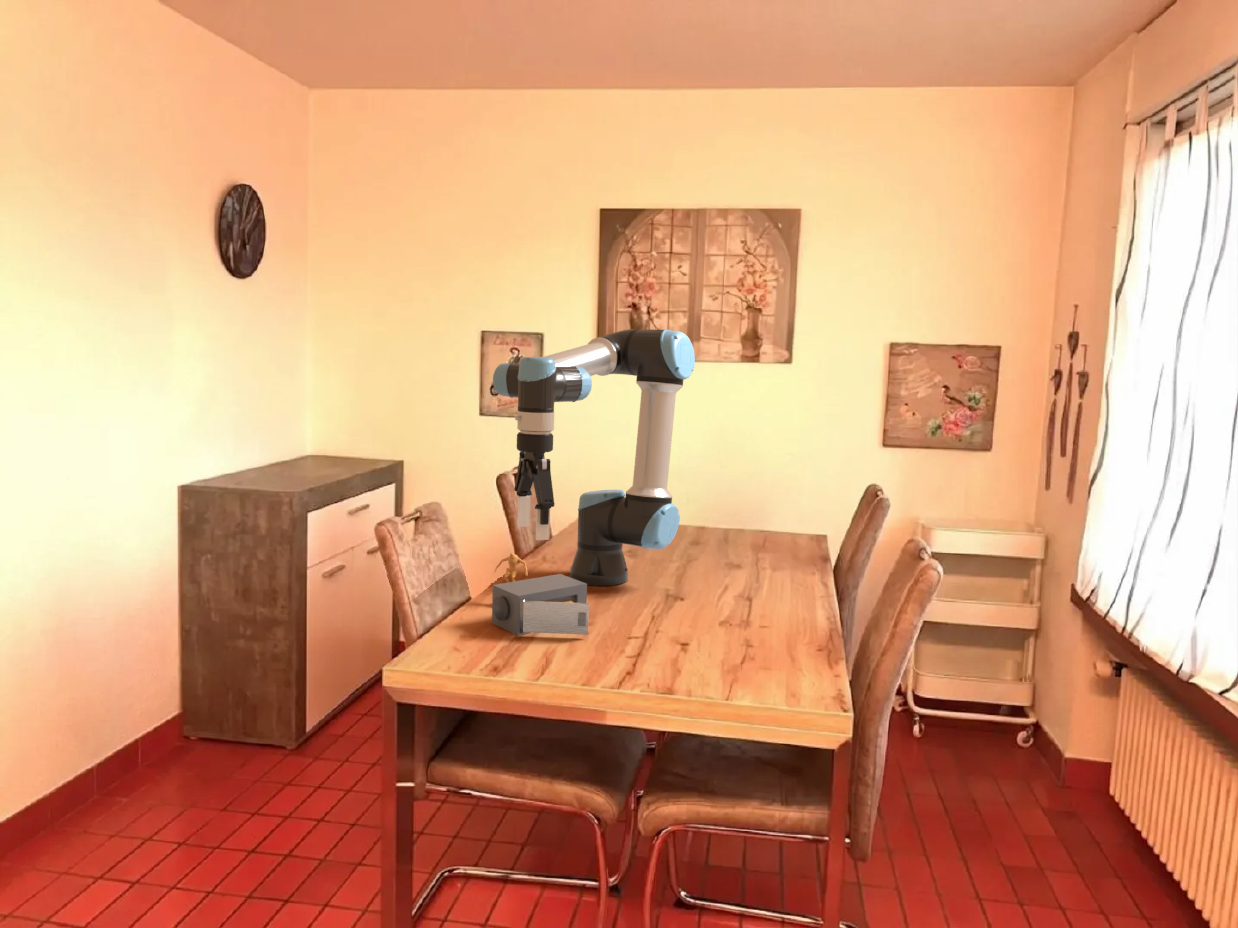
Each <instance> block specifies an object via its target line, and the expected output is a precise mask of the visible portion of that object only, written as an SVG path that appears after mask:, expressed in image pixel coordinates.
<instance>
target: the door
mask: <svg viewBox="0 0 1238 928" xmlns="http://www.w3.org/2000/svg"><path fill="white" fill-rule="evenodd" d="M589 608H590V603H589V602H586V603H571V602H544V601H525V599H520V622H519V633H520V634H522V635H524V634H523V633H524V632H532V633H533V634H534V633H535V634H536V633H537V634H538V633H539V634H562V635H563V634H564V635H565V634H566V635H589V617H590V616H589V615H590V614H589V613H590V612H589V610H590V609H589Z"/></svg>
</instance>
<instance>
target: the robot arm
mask: <svg viewBox="0 0 1238 928" xmlns="http://www.w3.org/2000/svg"><path fill="white" fill-rule="evenodd" d="M695 357H696V355H695V350H694V345H693V343H692V341H691V339H690V338H689V337H688V335H687V334H685V333H684V332H682V331H678V330H672V329H638V328H632V329H631V328H630V329H624V330H619V331H616V332H612V333H609V334H608V333H607V334H605V335H602V336H598V337H595V338H592V339H591V340H589V342H588V343H587V344H585V345H581V346H577V347H574V348H570V349H566V350H564V351H563V350H562V351H560V352H556V353H552V354H549V355H545V356H523V357H521V358H520V360H519V362H517V363H515V362H508V363H507V362H504V363H501V364H498V366H497V367H496V368H495V370H494V372H493V376H492V383H493V384H492V385H493V388H494V390H495V391H496V394H498V395H500V396H503V397H509V398H510V399H513V398H517V415H515V417H514V418H515V419H514V420H515V421H517V428H516V429H517V430H518V433H517V434H516V450H517V451H519V458H518V459H519V460H518V467H517V471H516V472H517V473H516V478H515V483H514V491H515V492H516V496H517V500H516V501H517V503H516V504H517V507H516V527H517V528H519V527H522V528H523V527H526V528H527V527H530V526H531V503H532V502H531V496H533V493H532V490H531V489H532V487H533V486H534V487H533V488H534V494H535V498H536V502H537V504H535V506H534V509H535V538H534V539H535V540H536V541H548V540H550V528H551V527H550V526H551V525H550V524H551V523H550V522H551V509H552V508H554V507H555V499H554V491H553V490H554V489H553V481H552V473H551V459H550V458H545V453H550V452H552V451H553V450H554V435H553V433H552V432H553V431H554V430H555V403H563V402H565V403H568V402H571V403H576V402H578V401H582V400H584V399H586V398H588V396H589V395H590V393H591V391H592V387H593V386H592V385H593V382H592V376H595V375H597V376H602V377H603V376H604V377H605V376H609V375H626V376H634V377H635V376H636V381H635V382H636V384H637V385H638V388H640V391H641V393H640V394H641V395H640V404H639V414H638V415H639V416H638V424H637V425H638V426H637V437H636V446H635V448H636V449H635V456H634V457H635V458H634V467H633V479H632V485H631V486H630V487H629V488H628V489H627V490H626V491H624V490H623V489H622V490H621V489H604V490H593V491H591V490H590V491H587V492H584V493H582V494H581V495H580V497H579V499H578V509H577V511H578V512H577V514H578V515H577V516H578V517H577V518H578V520H577V522H578V523H577V548H576V549H577V550H576V552H575V555H574V558H573V561H572V564H571V567H570V568H569V569H570V570H569V577H570V578H573V579H575V580H578V581H581V582H584V583H586V584H587V586H600V587H601V586H605V587H606V586H607V587H609V586H616V585H622V584H624V583H626V582H627V581H628V580H629V570H628V566H627V563H626V558H625V554H624V551H623V545H629V546H635V547H640V548H644V549H645V550H649V549H650V550H651V549H652V550H662V549H665V548H667V547H668V546H669V545H670V543H672V542H673V540H674V538H675V537H676V534H677V532H678V529H679V526H680V512H679V511H680V510H679V508H678V506H676V505H675V504H673V503H672V501H673V495H672V493H670V492H669V490H668V482H669V481H668V480H669V472H670V471H669V470H670V459H671V450H672V448H671V447H672V441H673V440H672V436H673V429H674V417H675V408H676V406H675V405H676V398H677V393H678V392H679V391H680V390H681V389H682V388H683V387H684V380H687V379H688V378H690V377H691V376H692V374H693V372H694V369H695V363H696V360H695Z"/></svg>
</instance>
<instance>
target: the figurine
mask: <svg viewBox="0 0 1238 928" xmlns="http://www.w3.org/2000/svg"><path fill="white" fill-rule="evenodd" d="M503 562H504V563H505V562H507V563H508V566H509V567H507V568H506V571H505V574H504V577H503V578H504V580H505V583H508V582H510V579H508V577H509V576H511V582H514V581H516V580H515V578H516V576H517V573H518V568H516V567H517V565H518V562H519V563H520V564H523V566H524V570H525V574H524V575H525V577H528V567H527V563H526V562H525V561H524V559H523V560H522V559H521V558H520V557H519V555H518V554H515V553H513V552H511V553H510V555H509V556H507V557H505V558H503V559H501V560H500V561H499V563H498V564H497V565H496V567H495V570H494V572H496V571H497V569H499V567H500V566H501V564H503Z"/></svg>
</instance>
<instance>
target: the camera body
mask: <svg viewBox="0 0 1238 928" xmlns="http://www.w3.org/2000/svg"><path fill="white" fill-rule="evenodd" d="M587 596H588V585H587V584H586V583H584V582H581V581H578V580H575V579H573V578H570V576H567V575H564V574H562V573H557V574H551V575H545V576H541V577H539V576H538V577H532V578H526V579H521V580H515V581H514V582H512V581H509V582H508V583H507V582H503V583H498V584H493V585H492V596H491V597H492V599H491V601H492V602H491V603H492V604H491V605H492V606H491V609H492V610H491V611H492V612H491V624H493V625H495V626H498V627H499V628H501V629H503V630H505V631H507V632H509V633H511V632H512V633H511V634H513V635H516V636H522V635H526V634H531V632H524V633H523V634H520V633H519V622H520V599H525V601H544V602H571V603H587V599H588V597H587Z"/></svg>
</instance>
